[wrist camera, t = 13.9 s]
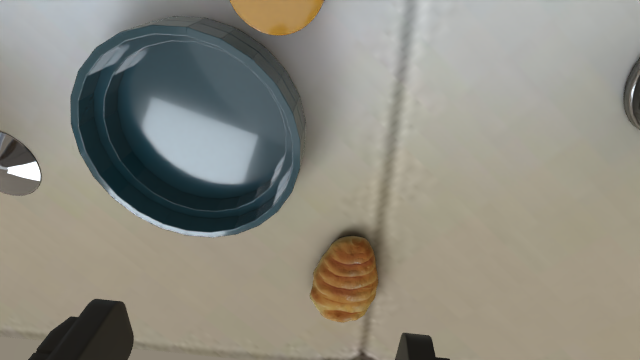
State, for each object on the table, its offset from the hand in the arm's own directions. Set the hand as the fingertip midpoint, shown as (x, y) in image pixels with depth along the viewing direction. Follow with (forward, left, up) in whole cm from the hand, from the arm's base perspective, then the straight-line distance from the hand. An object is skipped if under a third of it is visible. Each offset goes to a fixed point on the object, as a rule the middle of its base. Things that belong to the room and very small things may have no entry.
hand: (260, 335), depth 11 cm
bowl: (+9, +3, -23) cm, 25 cm away
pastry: (-4, +19, -23) cm, 30 cm away
